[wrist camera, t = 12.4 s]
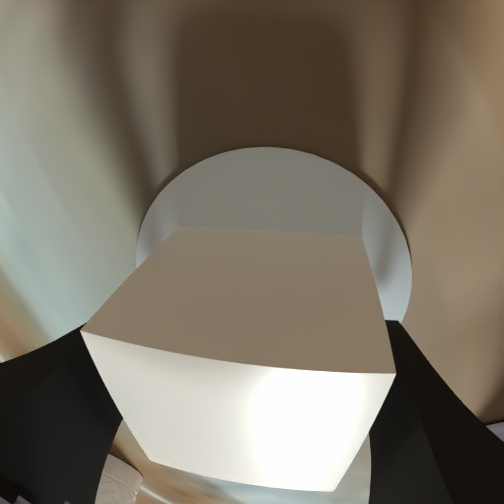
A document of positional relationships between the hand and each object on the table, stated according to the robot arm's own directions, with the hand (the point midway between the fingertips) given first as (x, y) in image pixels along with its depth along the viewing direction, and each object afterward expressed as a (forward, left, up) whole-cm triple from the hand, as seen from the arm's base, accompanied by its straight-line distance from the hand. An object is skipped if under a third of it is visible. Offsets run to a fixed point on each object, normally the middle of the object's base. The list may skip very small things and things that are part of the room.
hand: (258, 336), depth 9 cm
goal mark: (0, 0, -2) cm, 2 cm away
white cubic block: (0, 0, -2) cm, 2 cm away
